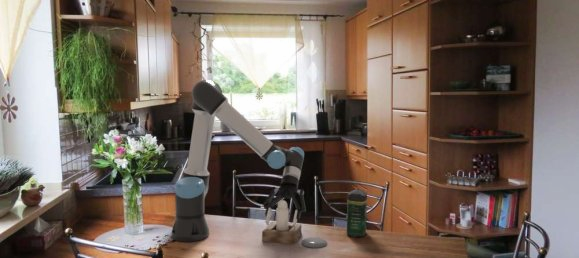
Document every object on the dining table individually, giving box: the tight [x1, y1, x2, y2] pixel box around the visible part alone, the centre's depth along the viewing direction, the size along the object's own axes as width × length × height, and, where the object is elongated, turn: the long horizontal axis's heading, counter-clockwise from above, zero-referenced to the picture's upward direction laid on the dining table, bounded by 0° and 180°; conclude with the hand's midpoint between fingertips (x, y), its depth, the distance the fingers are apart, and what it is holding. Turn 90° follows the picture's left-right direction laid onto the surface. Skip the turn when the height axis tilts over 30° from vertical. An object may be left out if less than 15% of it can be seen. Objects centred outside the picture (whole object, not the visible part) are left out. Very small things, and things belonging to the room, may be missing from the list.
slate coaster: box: [301, 236, 328, 249], centre depth 163 cm, size 10×10×1 cm
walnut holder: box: [261, 221, 302, 245], centre depth 170 cm, size 13×13×4 cm
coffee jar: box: [346, 188, 368, 238], centre depth 174 cm, size 10×8×19 cm
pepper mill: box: [275, 199, 290, 231], centre depth 169 cm, size 5×5×16 cm
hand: (280, 224), depth 167 cm, fingers open, 11 cm apart
